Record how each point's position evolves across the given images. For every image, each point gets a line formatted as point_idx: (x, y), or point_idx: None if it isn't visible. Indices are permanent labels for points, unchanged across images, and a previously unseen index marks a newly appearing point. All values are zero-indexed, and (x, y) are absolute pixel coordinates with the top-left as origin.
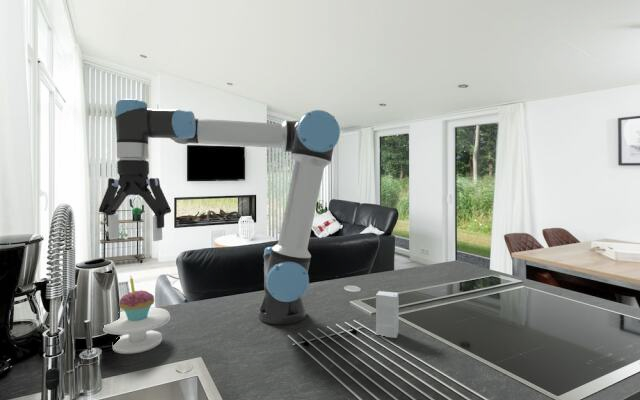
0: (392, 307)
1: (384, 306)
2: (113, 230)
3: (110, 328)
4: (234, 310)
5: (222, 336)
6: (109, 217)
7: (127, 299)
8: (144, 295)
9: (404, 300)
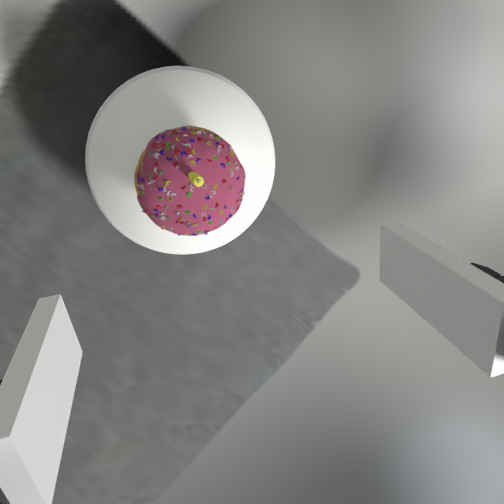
0: None
1: None
2: (412, 267)
3: (186, 70)
4: (113, 402)
5: (3, 276)
6: (495, 289)
7: (187, 143)
8: (155, 190)
9: None
